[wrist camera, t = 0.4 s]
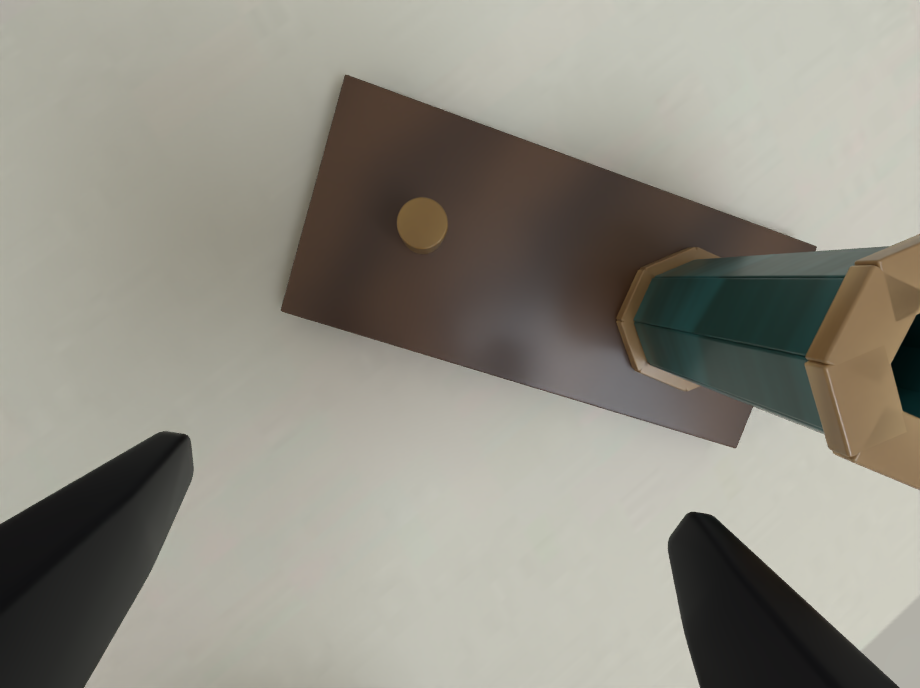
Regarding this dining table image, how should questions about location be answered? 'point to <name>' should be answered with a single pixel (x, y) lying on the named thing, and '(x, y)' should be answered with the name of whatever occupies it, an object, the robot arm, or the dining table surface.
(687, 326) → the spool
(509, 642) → the dining table surface
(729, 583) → the robot arm
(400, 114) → the spool stand
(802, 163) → the dining table surface
